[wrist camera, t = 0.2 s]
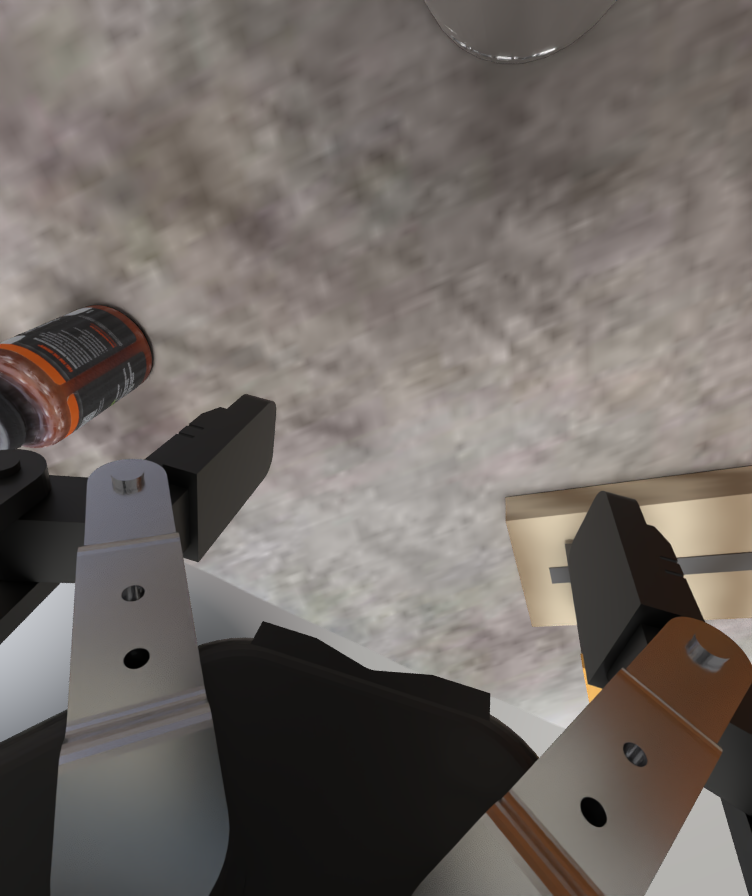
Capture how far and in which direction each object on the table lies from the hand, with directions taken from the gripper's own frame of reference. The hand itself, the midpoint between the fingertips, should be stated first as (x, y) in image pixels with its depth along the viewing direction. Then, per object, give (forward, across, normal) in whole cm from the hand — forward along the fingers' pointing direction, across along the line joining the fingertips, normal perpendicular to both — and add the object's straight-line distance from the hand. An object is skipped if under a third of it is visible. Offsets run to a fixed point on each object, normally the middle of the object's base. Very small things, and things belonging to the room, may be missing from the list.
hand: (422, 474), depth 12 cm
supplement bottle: (+18, +22, +8) cm, 30 cm away
